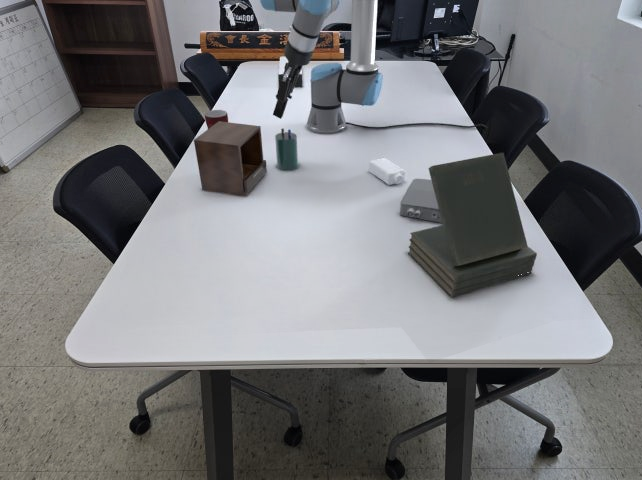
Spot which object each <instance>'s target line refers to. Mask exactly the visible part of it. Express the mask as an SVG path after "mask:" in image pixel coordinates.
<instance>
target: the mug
mask: <svg viewBox="0 0 642 480" xmlns="http://www.w3.org/2000/svg"><path fill="white" fill-rule="evenodd" d="M228 115H229V114H228V111H226V110H223V109H211V110H208V111H205V113H204V119H205V120H204V121H205V124H206V127H207V130H208V129H209V128H211V127H212V126H213V125H215V124H216V123H217V122H219V121H221V122H229V116H228Z"/></svg>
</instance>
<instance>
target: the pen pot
mask: <svg viewBox="0 0 642 480" xmlns="http://www.w3.org/2000/svg"><path fill="white" fill-rule="evenodd" d="M280 130H281V131H280V132H277V133H276V134H275V135H274V140H275V153H276V154H275V155H276V168H277V169H279V170H280V171H284V172H285V171H286V172H287V171H294V170H296V169H297V168H298V167H299V158H298V136H297V135H298V134H296V133H295V132H292V131H291V129H288V130H287V131H285V128H283V127H282V128H281V129H280Z"/></svg>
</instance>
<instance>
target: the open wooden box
mask: <svg viewBox="0 0 642 480" xmlns="http://www.w3.org/2000/svg"><path fill="white" fill-rule="evenodd" d="M261 127H262V126H261V125H254V124H245V123H236V122H229V121H228V122H221V121H219V122H217V123H216V124H215V125H213V126H212V127H211V128H209V129H208V128H207V129H206V130H205V131H204V132H202V133H200V134H199V135H198V136H197V137H196V138H194V139H193V144H194V149H195V156H196V162H197V167H198V173H199V178H200V185H201V190H202V191H206V192H207V191H208V192H214V193H221V194H228V195H234V196H240V197H245V196H246V195H247V194H248V193H245V186H244V175H243V166H242V164H247V165H254V166H258V165H259V164H260V163H261V162H262V161H263V160H264V151H263V139H262V129H261Z"/></svg>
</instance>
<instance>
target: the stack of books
mask: <svg viewBox="0 0 642 480" xmlns="http://www.w3.org/2000/svg"><path fill="white" fill-rule="evenodd" d="M427 169H428V172H429V177H430V180H432V184H433V188H434V192H435V196H436V200H437V204H438V208H439V211H440V215H441V219H442V223H441V224H442V225H437V226H433V227H430V228H425V229H420V230H416V231H412V232H410V235H411V236H410V238H409V239H408V240H409V242H410V245H408V248H409V252H407V254H408V255H409V257H411V259H413V261H414V262H415V263H416V264H417V265H418V266H419V267H420V268H421V269H422V270H423V271H424V272H425V273H426V274H427V275H428V276H429V277H430V278H431V279H432V280H433V281H434V282H435V283H436V284H437V285H438V286H439V288H441V290H443V292H444V293H445V294H446V295H447V296H448V297H449V298H450V299H452V298H455V297H458V296H461V295H465V294H468V293H469V294H470V293H472V292H475V291H479V290H482V289H485V288H489V287H492V286H495V285H499V284H503V283H506V282H509V281H513V280H516V279H519V278H523V277H526V276H530V275H531V274H532V272H533V268H534V265H535V263H536V262H535V261H536V259H537V256H538V252H536V251H534V250H533V249H532V248H530V247H529V246H528V241H527V238H526V234H525V230H524V227H523V222H522V218H521V215H520V212H519V211H520V210H519V207H518V204H517V203H518V202H517V199H516V196H515V192H514V187H513V184H512V181H511V176H510V173H509V168H508V165H507V161H506V157H505V154H504V152H498V153H493V154H489V155H483V156H478V157H473V158H472V157H471V158H467V159H461V160H456V161H450V162H445V163H440V164H433V165H431V166H430V167H428V168H427ZM531 271H532V272H531ZM527 272H529V273H527ZM521 274H522V275H521ZM518 275H519V276H518Z"/></svg>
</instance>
